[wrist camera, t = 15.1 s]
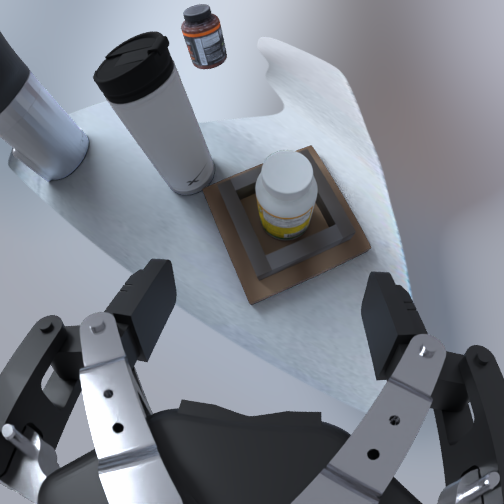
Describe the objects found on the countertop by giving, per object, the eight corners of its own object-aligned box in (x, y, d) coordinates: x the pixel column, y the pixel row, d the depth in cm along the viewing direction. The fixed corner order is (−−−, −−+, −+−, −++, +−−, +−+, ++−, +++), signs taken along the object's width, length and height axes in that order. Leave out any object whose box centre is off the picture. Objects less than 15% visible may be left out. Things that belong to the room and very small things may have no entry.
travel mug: (212, 198, 34) (147, 68, 15) (162, 194, 35) (73, 83, 15) (222, 154, 35) (178, 20, 16) (174, 152, 36) (109, 35, 17)
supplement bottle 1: (190, 58, 42) (173, 9, 31) (222, 47, 42) (210, -2, 31) (197, 75, 40) (179, 21, 29) (231, 63, 40) (221, 9, 29)
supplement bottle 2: (298, 249, 30) (306, 214, 20) (251, 229, 31) (239, 186, 21) (317, 206, 31) (331, 157, 22) (272, 187, 32) (269, 134, 23)
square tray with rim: (251, 304, 30) (247, 301, 26) (205, 194, 34) (196, 178, 30) (367, 251, 30) (378, 240, 27) (310, 151, 34) (313, 132, 30)
